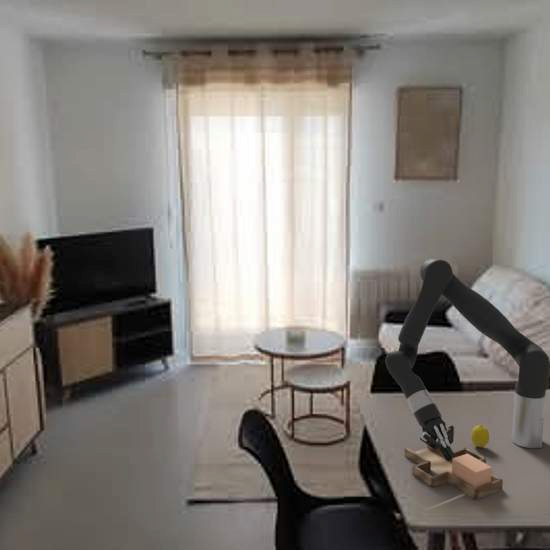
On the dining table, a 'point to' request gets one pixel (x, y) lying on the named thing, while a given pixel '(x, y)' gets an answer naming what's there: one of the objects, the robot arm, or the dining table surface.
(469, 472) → the block
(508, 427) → the dining table surface
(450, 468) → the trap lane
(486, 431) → the lemon
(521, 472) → the dining table surface
